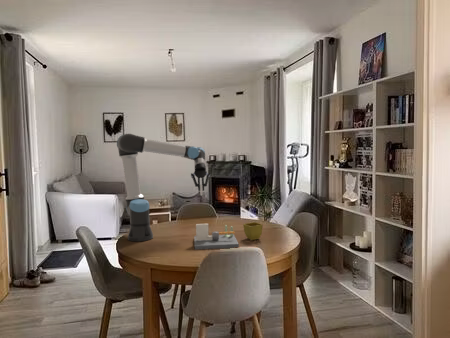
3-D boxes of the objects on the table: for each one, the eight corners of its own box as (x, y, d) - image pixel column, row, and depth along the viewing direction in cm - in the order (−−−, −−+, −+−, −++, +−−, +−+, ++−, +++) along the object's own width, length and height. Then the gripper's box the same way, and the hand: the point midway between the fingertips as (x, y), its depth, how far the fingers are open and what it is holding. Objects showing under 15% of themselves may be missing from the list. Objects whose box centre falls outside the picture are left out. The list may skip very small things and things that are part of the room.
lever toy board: (194, 249, 194) (194, 234, 194) (194, 239, 216) (194, 226, 216) (238, 247, 196) (238, 233, 196) (233, 237, 218) (233, 224, 218)
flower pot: (250, 241, 209) (250, 226, 208) (243, 238, 217) (242, 223, 216) (263, 239, 213) (263, 224, 213) (255, 236, 221) (255, 222, 220)
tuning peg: (196, 240, 203) (196, 225, 202) (196, 239, 207) (195, 223, 206) (234, 239, 205) (234, 223, 204) (234, 237, 209) (233, 222, 208)
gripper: (209, 170, 244) (211, 197, 228) (190, 170, 242) (191, 198, 227) (210, 162, 238) (212, 190, 222) (190, 162, 237) (190, 191, 221)
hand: (201, 194), depth 225 cm, fingers closed
